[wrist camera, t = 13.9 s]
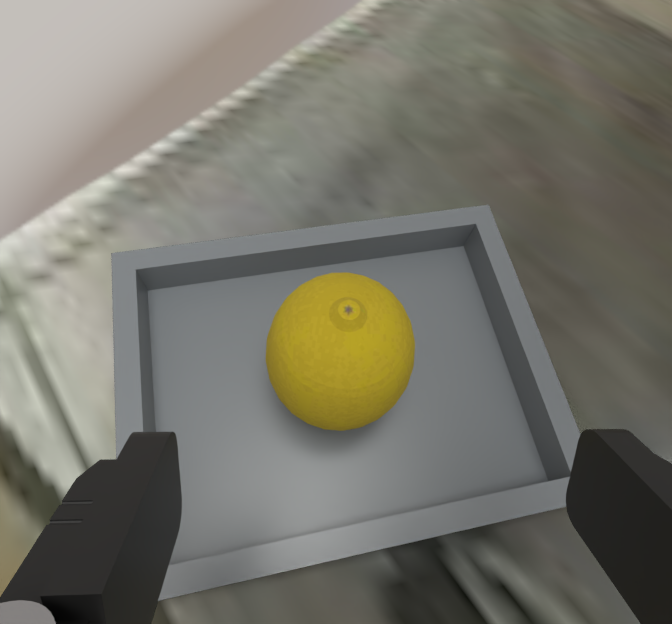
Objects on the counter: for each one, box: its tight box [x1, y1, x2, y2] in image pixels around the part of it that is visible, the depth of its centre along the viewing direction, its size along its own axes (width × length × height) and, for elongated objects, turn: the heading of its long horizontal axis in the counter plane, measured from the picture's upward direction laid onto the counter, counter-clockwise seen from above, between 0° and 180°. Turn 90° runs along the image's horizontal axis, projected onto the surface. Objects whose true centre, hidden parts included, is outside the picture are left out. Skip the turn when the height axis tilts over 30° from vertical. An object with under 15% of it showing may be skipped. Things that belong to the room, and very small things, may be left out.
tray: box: [111, 205, 581, 601], centre depth 22 cm, size 18×14×3 cm
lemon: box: [266, 272, 415, 431], centre depth 19 cm, size 6×6×8 cm
